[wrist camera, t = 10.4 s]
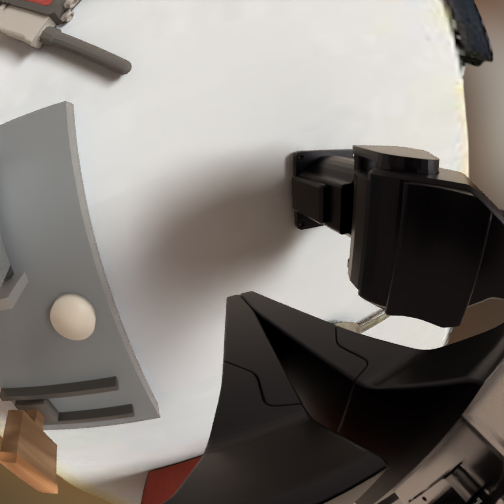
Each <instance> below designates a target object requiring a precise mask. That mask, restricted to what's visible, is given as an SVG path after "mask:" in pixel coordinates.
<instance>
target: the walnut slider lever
mask: <svg viewBox="0 0 504 504" xmlns="http://www.w3.org/2000/svg"><path fill="white" fill-rule="evenodd" d="M15 406H16V408H17V409H18V410H9V411H8V416H7V420H6V425H5V430H4V435H3V441H2V447H1V451H0V463H2V464H3V465H4V466H5V467H6V468H8V469H9V470H10V471H11V472H13V473H14V474H15V475H17V476H18V477H19V478H21V479H22V480H23V481H25V482H26V483H28V484H29V485H31V486H32V487H33V488H35V489H37V490H38V491H40V492H44V493H55V494H58V485H57V484H56V458H57V445H56V444H55V443H54V442H53V441H52V440H51V439H50V438H49V437H48V436H47V435H46V434H45V433H44V432H43V425H44V422H49V421H58V415H59V412H58V411H57V409H56V408H55V407H54V406H53V404H52V403H51V402H50V400H49V399H36V400H16V401H15Z"/></svg>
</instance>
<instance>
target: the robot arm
mask: <svg viewBox="0 0 504 504" xmlns="http://www.w3.org/2000/svg"><path fill="white" fill-rule="evenodd" d="M353 154H354V157H353ZM299 155H301V160H299V159H298V157H299ZM293 171H294V177H293V179H292V198H293V209H294V214H295V226H296V227H297V228H298V229H300V230H303V229H308V228H313V227H319V226H324V225H325V226H327V227H329V228H331V229H332V230H334V231H336V232H338V233H339V234H342V235H343V234H345V235H347V236H349V237H351V246H350V258H349V259H348V265H347V267H348V268H349V269H348V274H349V278H350V281H351V282H352V283H353V284H354V286H355V287H356V288H357V289H358V290H359V291H358V295H359V296H360V297H362V298H363V299H365V300H366V301H368V302H370V303H372V304H374V305H376V306H378V307H380V308H383V309H385V314H386V315H392V316H407V317H413V318H417V319H421V320H424V321H426V322H429V323H432V324H434V325H437V326H439V327H443V328H446V327H456V326H459V325H460V324H461V323H462V320H463V318H464V315H465V312H466V310H467V307H470V306H472V305H475V304H477V303H480V302H483V301H485V300H488V299H491V298H493V299H499V300H503V301H504V210H501V209H499V208H498V207H497V206H496V205H495V204H494V203H493V202H492V201H491V200H490V199H489V198H488V197H487V196H486V195H485V194H484V193H483V192H482V191H481V190H480V189H479V188H478V187H477V186H476V185H475V184H474V183H473V182H472V181H471V180H470V179H469V178H468V177H467V176H466V175H464V174H463V173H461V172H457V171H453V170H448V169H443V168H439V158H437V157H435V156H434V155H432V154H430V153H428V152H427V151H424V150H419V149H413V148H406V147H398V146H367V145H353V149H345V150H311V151H297V152H295V153H294V155H293ZM301 221H302V225H299V224H300V222H301ZM394 492H395V493H396V494H397V496H398V497H399V498H400V499H401V501H402V502H403V503H404V504H475V503H476V502H477V498H478V497H479V498H480V499H481V500H482V501H483V502H481V503H480V504H504V323H503V324H501V325H499V326H497V327H496V328H493V329H491V330H489V331H486V332H484V333H481V334H478V335H476V336H473V337H470V338H467V339H465V340H462V341H459V342H456V343H453V344H450V345H447V346H443V347H440V348H437V349H431V350H420V349H414V348H410V347H406V346H402V345H398V344H394V343H390V342H387V341H383V340H379V339H376V338H372V337H369V336H365V335H362V334H359V333H356V332H353V331H351V330H348V329H345V328H343V327H340V326H336V325H335V324H332V323H329V322H327V321H324V320H322V319H319V318H317V317H314V316H312V315H309V314H307V313H304V312H302V311H299V310H297V309H294V308H292V307H289V306H287V305H284V304H282V303H279V302H277V301H275V300H272V299H270V298H267V297H265V296H263V295H260V294H258V293H255V292H253V291H250V292H246V293H242V294H240V295H234V296H230V297H227V302H226V319H225V337H224V357H223V374H222V384H221V390H220V396H219V401H218V405H217V409H216V413H215V417H214V422H213V426H212V430H211V434H210V438H209V441H208V444H207V447H206V450H205V452H204V454H203V456H202V458H201V459H200V460H199V462H198V463H197V465H196V466H195V467H194V469H193V470H192V471H191V473H190V474H189V475H188V477H187V478H186V479H185V481H184V482H183V483H182V485H181V486H180V487H179V489H178V490H177V491H176V493H175V494H174V495H173V496H172V497H171V498H170V499H168V500H167V501H165V502H164V503H162V504H353V503H354V502H355V503H356V504H377V503H379V502H381V501H382V500H384V499H385V498H387V497H388V496H390V495H391V494H393V493H394Z"/></svg>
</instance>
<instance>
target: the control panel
mask: <svg viewBox="0 0 504 504" xmlns="http://www.w3.org/2000/svg"><path fill="white" fill-rule="evenodd" d="M0 232H1V235H2V239H3V242H4V245H5V248H6V251H7V254H8V257H9V260H10V263H11V266H12V269H13V271H14V275H13V276H12V277H11V278H10V279H9V280H7V281H5V282H3V284H2V287H1V289H0V387H1V388H2V390H1V393H0V398H1V399H2V401H12V402H13V403H14V404H15V401H16V400H36V399H49V400H50V402H51V403H52V404H53V406H54V407H55V408H56V409H57V411H58V412H59V415H58V421H49V422H44V425H43V430H60V429H77V428H90V427H100V426H109V425H117V424H124V423H131V422H137V421H143V420H149V419H155V418H160V414H159V408H158V403H157V401H156V399H155V397H154V395H153V393H152V391H151V389H150V387H149V385H148V383H147V381H146V379H145V377H144V375H143V372H142V370H141V368H140V366H139V364H138V361H137V359H136V357H135V355H134V352H133V350H132V347H131V345H130V343H129V340H128V338H127V335H126V333H125V330H124V328H123V325H122V322H121V320H120V317H119V314H118V312H117V309H116V306H115V303H114V300H113V297H112V294H111V291H110V288H109V285H108V282H107V279H106V276H105V273H104V269H103V266H102V263H101V259H100V256H99V252H98V248H97V245H96V241H95V237H94V233H93V229H92V225H91V220H90V216H89V211H88V207H87V202H86V197H85V192H84V187H83V181H82V175H81V169H80V163H79V156H78V148H77V140H76V131H75V120H74V107H73V104H72V103H69V102H67V101H64V102H61V103H58V104H54V105H51V106H48V107H45V108H42V109H40V110H37V111H34V112H31V113H29V114H26V115H23V116H21V117H18V118H16V119H13V120H11V121H9V122H6V123H4V124H2V125H0Z"/></svg>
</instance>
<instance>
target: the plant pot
mask: <svg viewBox="0 0 504 504" xmlns="http://www.w3.org/2000/svg"><path fill="white" fill-rule="evenodd" d="M201 458H202V456H200V457H197V458H194V459H191V460H188V461H185V462H182V463H179V464H175V465H172V466H169V467H165V468H161V469H158V470H154V471H150V472H149V473H148V475H147V478H146V482H145V486H144V491H143V495H142V500H141V504H162V503H164V502H165V501H167V500H168V499H170V498H171V497H172V496H173V495H174V494H175V493H176V491H177V490H178V489H179V487H180V486H181V485H182V483H183V482H184V481H185V479H186V478H187V477H188V475H189V474H190V473H191V471H192V470H193V469H194V467H195V466H196V465H197V463H198V462H199V460H200V459H201Z"/></svg>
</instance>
